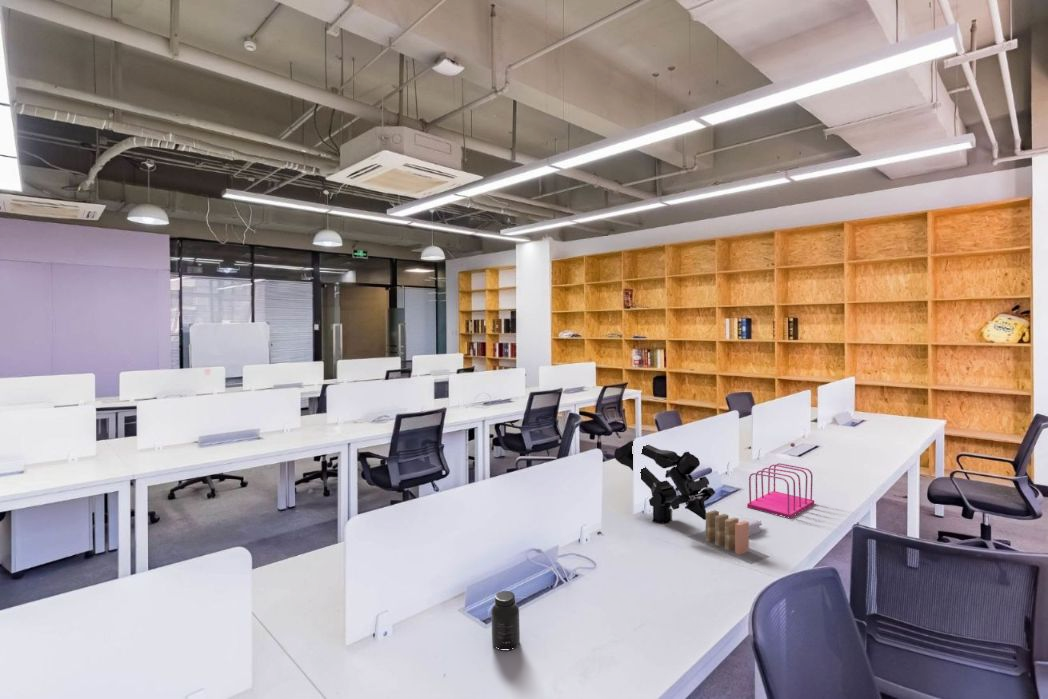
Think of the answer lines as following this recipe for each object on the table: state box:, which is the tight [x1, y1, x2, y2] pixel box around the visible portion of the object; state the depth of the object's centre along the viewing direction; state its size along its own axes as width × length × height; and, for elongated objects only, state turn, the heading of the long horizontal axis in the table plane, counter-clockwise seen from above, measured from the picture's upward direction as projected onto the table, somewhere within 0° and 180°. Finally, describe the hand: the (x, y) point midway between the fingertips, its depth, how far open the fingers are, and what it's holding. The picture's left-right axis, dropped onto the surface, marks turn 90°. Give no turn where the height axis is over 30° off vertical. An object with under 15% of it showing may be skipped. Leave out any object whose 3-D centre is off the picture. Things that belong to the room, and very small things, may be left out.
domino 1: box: [705, 510, 720, 542], centre depth 185 cm, size 2×5×10 cm, turn 121°
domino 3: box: [725, 516, 738, 550], centre depth 178 cm, size 2×5×10 cm, turn 121°
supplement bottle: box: [490, 590, 521, 650], centre depth 127 cm, size 7×7×12 cm
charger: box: [728, 514, 763, 537], centre depth 195 cm, size 5×9×15 cm
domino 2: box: [715, 513, 729, 546], centre depth 182 cm, size 2×5×10 cm, turn 121°
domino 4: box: [735, 521, 750, 555], centre depth 175 cm, size 2×5×10 cm, turn 121°
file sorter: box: [746, 462, 815, 519], centre depth 220 cm, size 17×25×16 cm
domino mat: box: [686, 530, 771, 565], centre depth 180 cm, size 26×10×1 cm, turn 31°
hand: (706, 519), depth 187 cm, fingers closed
